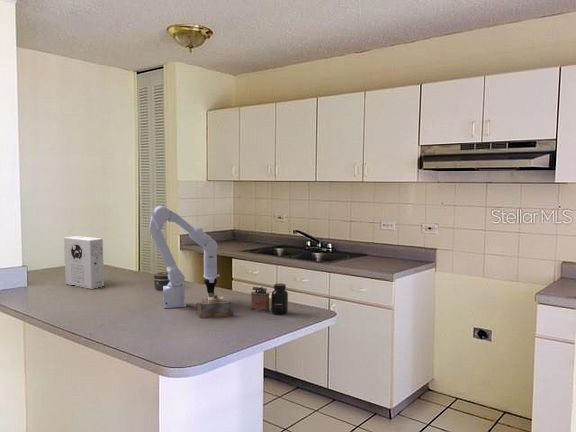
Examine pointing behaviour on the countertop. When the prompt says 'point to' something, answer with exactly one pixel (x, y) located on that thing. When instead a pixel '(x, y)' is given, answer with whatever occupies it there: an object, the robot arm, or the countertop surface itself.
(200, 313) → the press bed
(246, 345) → the countertop surface
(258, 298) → the lighter
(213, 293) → the block
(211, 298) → the block
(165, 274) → the jar
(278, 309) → the supplement bottle
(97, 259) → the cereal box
